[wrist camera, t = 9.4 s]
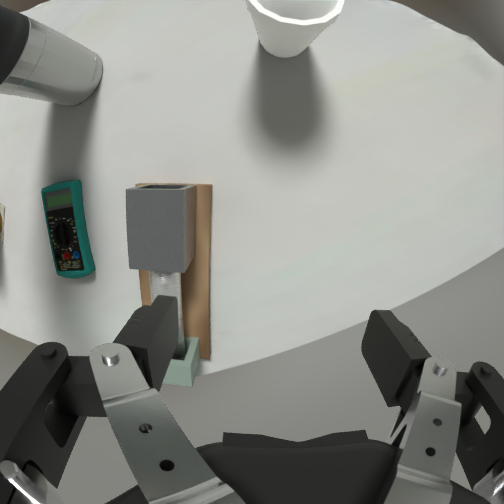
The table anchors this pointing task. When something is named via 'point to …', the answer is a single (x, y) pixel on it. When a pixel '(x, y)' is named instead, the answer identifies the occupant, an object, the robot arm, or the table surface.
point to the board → (194, 276)
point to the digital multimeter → (67, 229)
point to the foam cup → (291, 23)
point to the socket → (184, 365)
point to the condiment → (1, 222)
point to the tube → (170, 287)
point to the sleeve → (161, 227)
